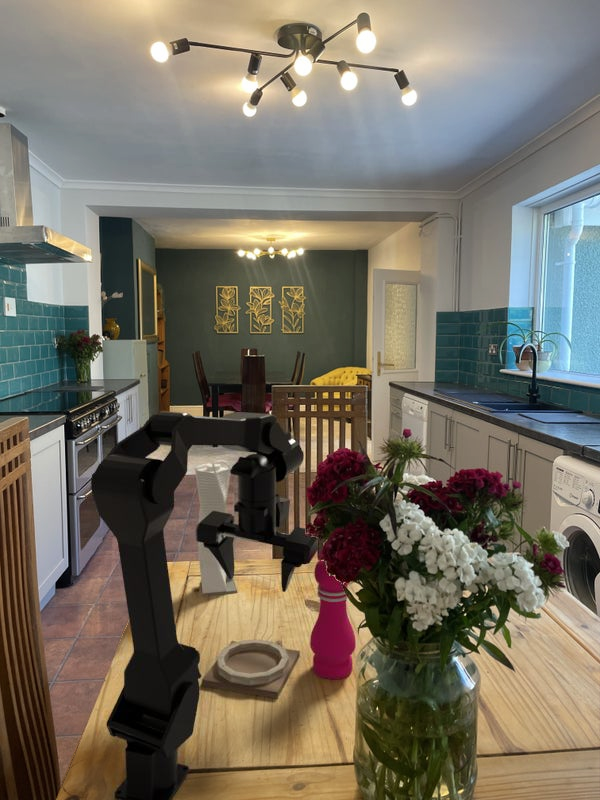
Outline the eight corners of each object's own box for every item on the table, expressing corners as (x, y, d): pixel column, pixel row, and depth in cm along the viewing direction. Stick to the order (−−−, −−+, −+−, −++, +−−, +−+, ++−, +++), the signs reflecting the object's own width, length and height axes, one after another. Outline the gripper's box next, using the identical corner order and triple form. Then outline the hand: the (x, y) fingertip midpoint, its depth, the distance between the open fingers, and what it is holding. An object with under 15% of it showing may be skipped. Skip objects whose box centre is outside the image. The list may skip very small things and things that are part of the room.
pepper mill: (338, 687, 89) (340, 558, 87) (300, 670, 94) (301, 548, 92) (363, 666, 95) (365, 545, 93) (326, 651, 100) (327, 536, 97)
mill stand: (277, 698, 86) (277, 684, 86) (201, 685, 90) (201, 671, 89) (299, 656, 98) (299, 643, 98) (231, 646, 101) (231, 634, 101)
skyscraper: (238, 595, 121) (237, 460, 118) (198, 599, 119) (196, 462, 117) (233, 579, 130) (232, 452, 127) (195, 582, 128) (193, 454, 125)
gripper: (332, 482, 93) (329, 569, 98) (225, 464, 99) (227, 547, 104) (308, 513, 83) (307, 608, 88) (191, 492, 89) (195, 582, 94)
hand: (257, 584), depth 93 cm, fingers open, 9 cm apart
